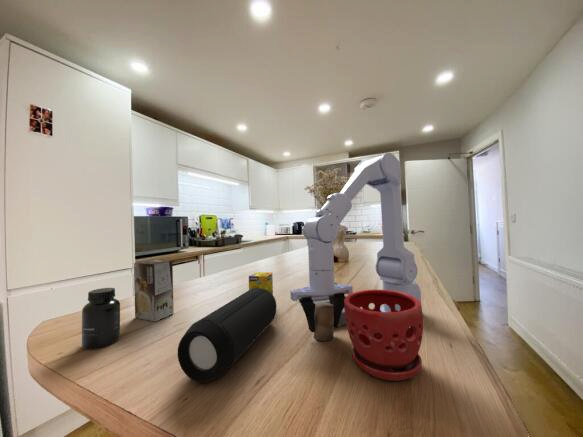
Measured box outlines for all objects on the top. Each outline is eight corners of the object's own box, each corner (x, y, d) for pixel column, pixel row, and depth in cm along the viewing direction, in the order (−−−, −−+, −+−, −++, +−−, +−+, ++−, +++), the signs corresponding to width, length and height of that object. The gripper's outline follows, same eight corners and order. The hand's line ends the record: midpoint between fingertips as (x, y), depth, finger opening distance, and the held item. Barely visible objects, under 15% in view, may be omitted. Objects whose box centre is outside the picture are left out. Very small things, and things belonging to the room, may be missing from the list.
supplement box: (268, 313, 68) (267, 276, 68) (248, 312, 69) (247, 275, 69) (273, 306, 73) (272, 271, 74) (255, 305, 75) (255, 271, 75)
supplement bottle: (76, 354, 49) (76, 296, 49) (87, 340, 55) (86, 288, 55) (117, 345, 52) (116, 291, 52) (122, 333, 58) (122, 284, 58)
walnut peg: (326, 330, 56) (326, 301, 56) (337, 339, 52) (337, 307, 52) (310, 334, 54) (310, 303, 54) (321, 343, 50) (321, 310, 50)
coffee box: (175, 313, 70) (174, 260, 70) (155, 322, 64) (154, 263, 64) (153, 310, 73) (152, 259, 74) (133, 318, 67) (132, 262, 68)
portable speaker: (246, 321, 63) (245, 284, 64) (280, 324, 60) (279, 286, 61) (173, 383, 39) (172, 323, 39) (225, 394, 36) (223, 329, 36)
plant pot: (368, 339, 51) (366, 284, 52) (435, 364, 42) (432, 297, 42) (332, 364, 42) (329, 298, 43) (406, 404, 33) (403, 318, 33)
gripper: (341, 263, 59) (343, 317, 59) (286, 268, 55) (288, 325, 55) (356, 268, 52) (358, 329, 52) (294, 274, 48) (296, 339, 48)
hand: (323, 328), depth 53 cm, fingers open, 5 cm apart
